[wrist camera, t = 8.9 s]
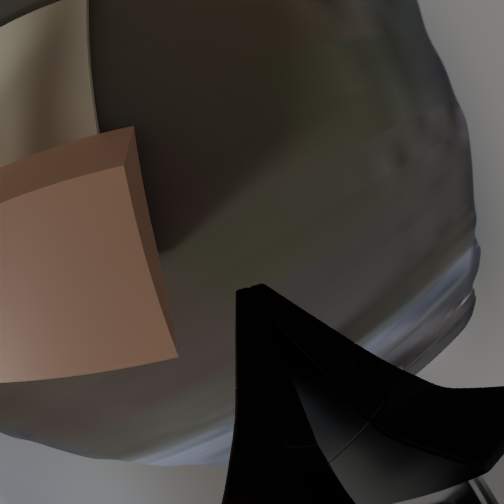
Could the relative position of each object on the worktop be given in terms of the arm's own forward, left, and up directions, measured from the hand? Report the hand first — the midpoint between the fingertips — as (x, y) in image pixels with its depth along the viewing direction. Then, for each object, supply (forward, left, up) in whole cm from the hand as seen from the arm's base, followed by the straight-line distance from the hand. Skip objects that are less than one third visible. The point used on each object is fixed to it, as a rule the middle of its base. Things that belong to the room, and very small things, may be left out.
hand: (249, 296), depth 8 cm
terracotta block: (+3, 0, -4) cm, 5 cm away
